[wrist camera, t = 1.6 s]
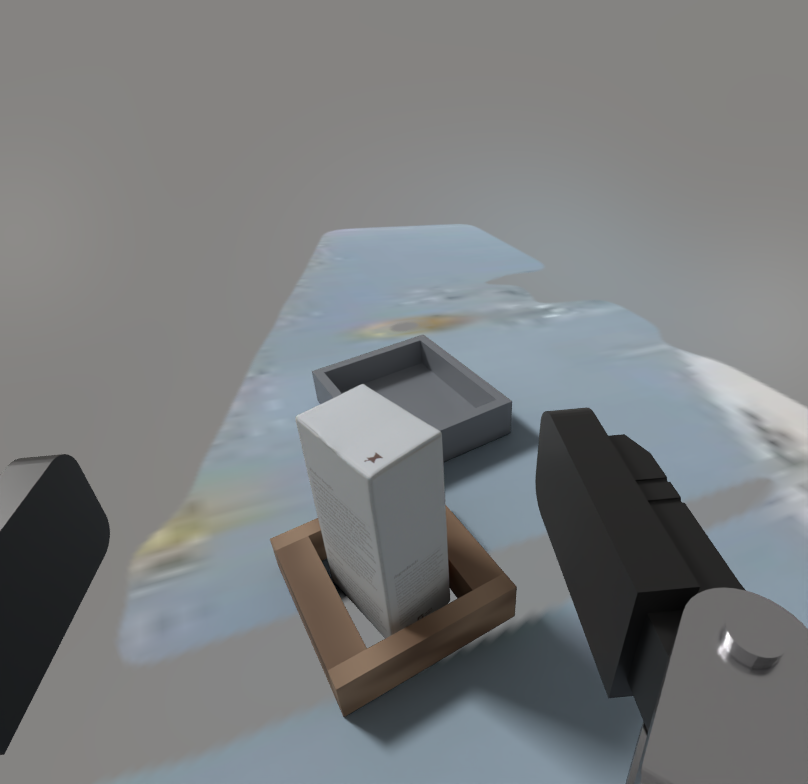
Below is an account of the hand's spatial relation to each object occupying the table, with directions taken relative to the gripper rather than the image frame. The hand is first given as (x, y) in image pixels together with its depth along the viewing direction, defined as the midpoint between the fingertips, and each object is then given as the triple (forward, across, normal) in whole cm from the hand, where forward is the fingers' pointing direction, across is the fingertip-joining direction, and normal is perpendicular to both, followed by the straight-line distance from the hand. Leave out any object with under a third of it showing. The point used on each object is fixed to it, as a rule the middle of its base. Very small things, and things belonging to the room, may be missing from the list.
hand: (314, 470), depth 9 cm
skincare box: (+12, 0, +20) cm, 24 cm away
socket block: (+12, 0, +20) cm, 23 cm away
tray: (+29, -2, +20) cm, 35 cm away
